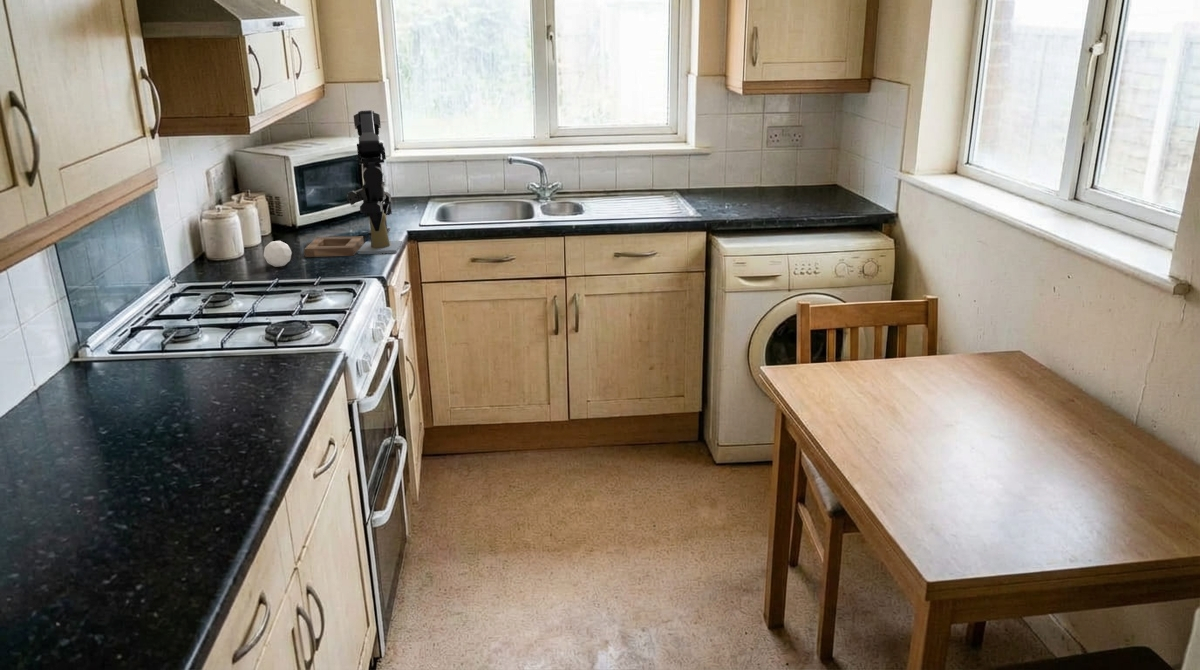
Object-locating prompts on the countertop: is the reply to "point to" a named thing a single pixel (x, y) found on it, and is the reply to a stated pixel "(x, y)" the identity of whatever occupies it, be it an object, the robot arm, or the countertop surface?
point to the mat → (392, 248)
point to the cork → (379, 235)
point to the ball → (277, 253)
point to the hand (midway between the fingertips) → (378, 229)
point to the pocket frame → (334, 246)
